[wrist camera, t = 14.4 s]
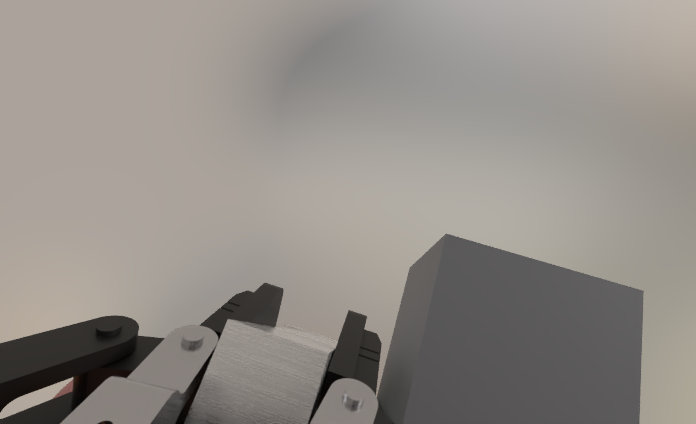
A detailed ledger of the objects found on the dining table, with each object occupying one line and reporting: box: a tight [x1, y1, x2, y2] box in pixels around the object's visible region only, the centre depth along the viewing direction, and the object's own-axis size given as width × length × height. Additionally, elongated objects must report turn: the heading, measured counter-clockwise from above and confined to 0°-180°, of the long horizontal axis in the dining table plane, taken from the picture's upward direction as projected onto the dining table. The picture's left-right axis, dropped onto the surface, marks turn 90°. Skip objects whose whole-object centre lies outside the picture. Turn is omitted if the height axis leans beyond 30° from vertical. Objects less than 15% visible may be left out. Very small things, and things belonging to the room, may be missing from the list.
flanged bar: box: [184, 319, 338, 424], centre depth 17 cm, size 6×21×2 cm, turn 179°
